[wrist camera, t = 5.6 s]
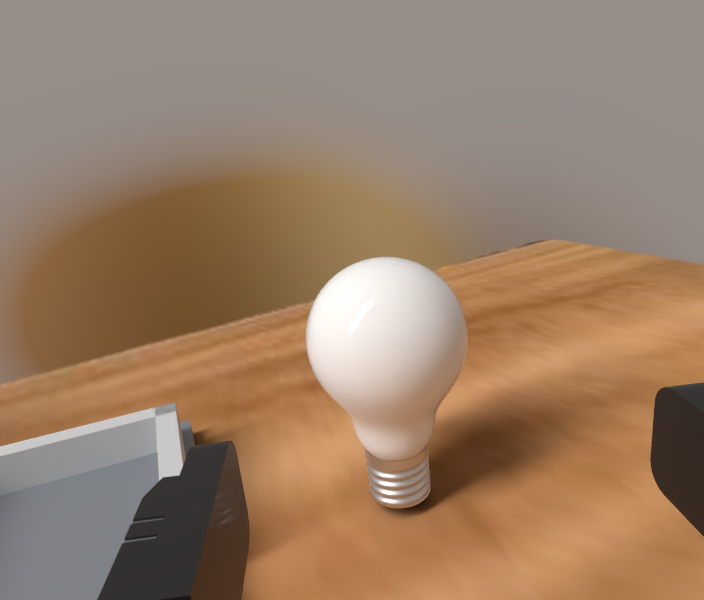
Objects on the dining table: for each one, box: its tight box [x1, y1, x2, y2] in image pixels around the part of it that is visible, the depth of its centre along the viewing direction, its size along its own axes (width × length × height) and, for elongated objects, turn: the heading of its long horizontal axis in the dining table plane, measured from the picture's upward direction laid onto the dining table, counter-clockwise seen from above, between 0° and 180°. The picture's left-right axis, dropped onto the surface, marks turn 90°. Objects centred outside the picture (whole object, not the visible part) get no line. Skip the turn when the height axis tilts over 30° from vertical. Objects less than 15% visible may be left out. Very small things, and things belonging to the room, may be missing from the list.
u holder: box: [0, 403, 195, 600], centre depth 23 cm, size 14×12×3 cm
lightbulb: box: [306, 257, 468, 508], centre depth 23 cm, size 6×6×11 cm
